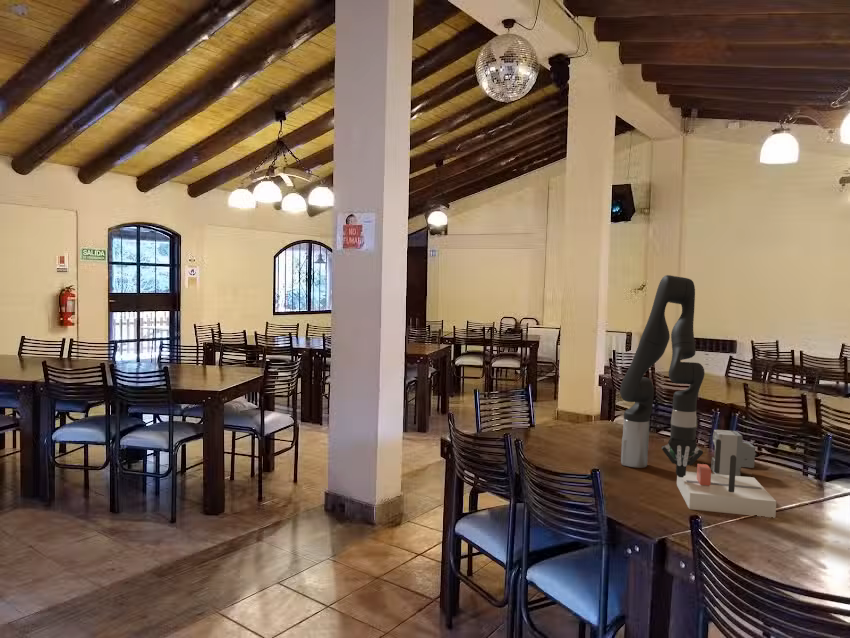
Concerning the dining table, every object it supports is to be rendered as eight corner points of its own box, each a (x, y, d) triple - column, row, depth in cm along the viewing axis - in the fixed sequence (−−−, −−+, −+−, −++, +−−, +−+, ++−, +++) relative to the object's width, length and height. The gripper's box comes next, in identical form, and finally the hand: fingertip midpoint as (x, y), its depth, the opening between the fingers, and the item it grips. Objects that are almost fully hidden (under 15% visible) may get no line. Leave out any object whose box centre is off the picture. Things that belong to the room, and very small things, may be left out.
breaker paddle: (700, 484, 202) (701, 468, 202) (696, 478, 208) (697, 463, 207) (710, 485, 201) (711, 469, 201) (706, 479, 207) (707, 464, 207)
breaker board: (689, 509, 194) (690, 492, 194) (676, 484, 218) (677, 470, 217) (775, 517, 189) (776, 501, 189) (753, 492, 212) (753, 477, 212)
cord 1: (714, 472, 212) (716, 439, 211) (713, 471, 214) (715, 438, 213) (719, 473, 212) (721, 440, 211) (718, 471, 213) (720, 439, 213)
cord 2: (729, 492, 193) (731, 455, 192) (727, 490, 194) (730, 454, 194) (734, 492, 192) (737, 456, 192) (733, 490, 194) (735, 454, 193)
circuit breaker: (758, 478, 228) (761, 437, 227) (715, 474, 231) (718, 434, 230) (752, 472, 235) (754, 432, 234) (710, 469, 238) (713, 429, 237)
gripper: (663, 424, 203) (660, 478, 204) (708, 428, 200) (704, 482, 201) (660, 419, 210) (657, 471, 211) (703, 423, 207) (700, 475, 208)
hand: (680, 476), depth 206 cm, fingers closed
